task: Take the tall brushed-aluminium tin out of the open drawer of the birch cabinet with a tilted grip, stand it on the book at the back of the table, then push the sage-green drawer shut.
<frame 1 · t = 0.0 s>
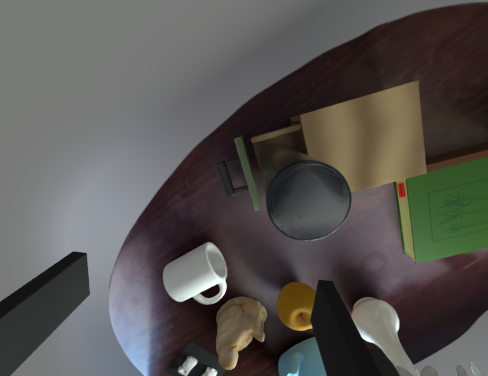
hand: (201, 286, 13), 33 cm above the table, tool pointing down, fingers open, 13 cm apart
apple: (294, 288, 51), on the table
teapot: (303, 350, 55), on the table
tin: (277, 161, 42), point 2 cm above the table, touching drawer
statue: (240, 316, 53), on the table
drawer: (277, 163, 39), point 4 cm above the table, slide at 9.1 cm, touching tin
mug: (205, 266, 50), on the table
flower vase: (368, 304, 51), on the table
cabinet: (342, 141, 42), on the table
book: (459, 196, 44), on the table
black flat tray: (198, 367, 58), on the table
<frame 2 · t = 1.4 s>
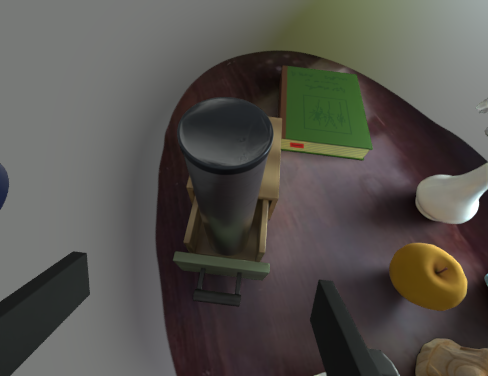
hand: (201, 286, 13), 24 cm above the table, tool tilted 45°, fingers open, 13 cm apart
apple: (401, 280, 37), on the table
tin: (227, 235, 37), point 2 cm above the table, touching drawer
drawer: (227, 232, 35), point 4 cm above the table, slide at 9.1 cm, touching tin
flower vase: (426, 204, 45), on the table
cabinet: (237, 176, 45), on the table
book: (316, 116, 55), on the table
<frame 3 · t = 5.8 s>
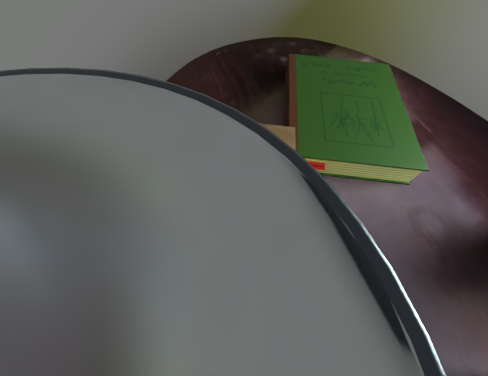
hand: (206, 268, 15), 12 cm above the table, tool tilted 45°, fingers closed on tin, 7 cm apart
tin: (210, 328, 22), point 2 cm above the table, touching drawer, gripper
cabinet: (228, 215, 30), on the table
book: (337, 122, 40), on the table
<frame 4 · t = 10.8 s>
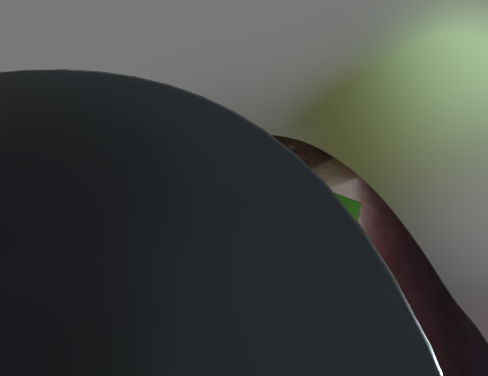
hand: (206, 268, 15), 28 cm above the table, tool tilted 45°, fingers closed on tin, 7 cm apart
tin: (209, 328, 22), point 17 cm above the table, touching gripper
when the fingers open (14 cm above the table, at t = 16.1 s): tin stays where it is, resting on book.
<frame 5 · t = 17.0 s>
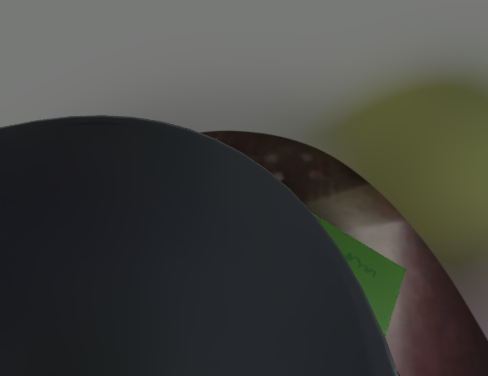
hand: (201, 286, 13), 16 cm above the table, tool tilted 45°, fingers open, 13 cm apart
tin: (211, 329, 22), point 4 cm above the table, touching book
book: (274, 319, 27), on the table, touching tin
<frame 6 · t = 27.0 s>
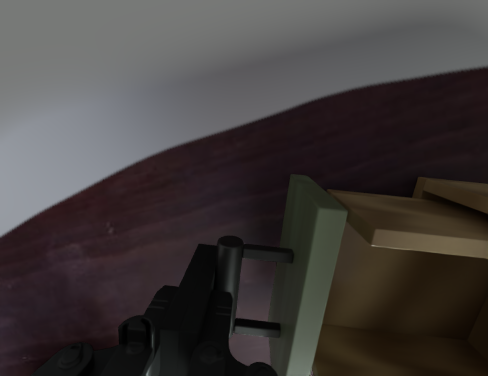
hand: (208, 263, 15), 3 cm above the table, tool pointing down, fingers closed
drawer: (378, 295, 14), point 4 cm above the table, slide at 7.9 cm, touching gripper
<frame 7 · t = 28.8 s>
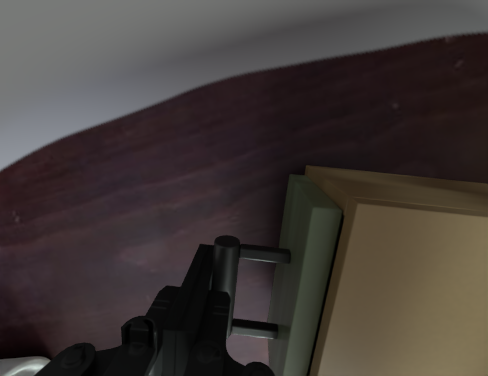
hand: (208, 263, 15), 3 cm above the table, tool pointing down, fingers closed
drawer: (378, 297, 14), point 4 cm above the table, slide at 0.0 cm, touching cabinet, gripper
cabinet: (399, 263, 18), on the table
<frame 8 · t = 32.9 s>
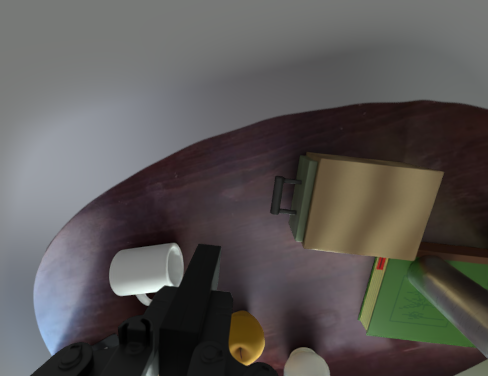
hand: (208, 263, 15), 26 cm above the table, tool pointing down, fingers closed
apple: (241, 316, 48), on the table
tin: (427, 272, 40), point 4 cm above the table, touching book
drawer: (333, 200, 37), point 4 cm above the table, slide at 0.0 cm, touching cabinet
mug: (161, 265, 46), on the table
flower vase: (305, 355, 50), on the table
cabinet: (346, 195, 41), on the table
book: (427, 286, 45), on the table, touching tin
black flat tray: (112, 361, 53), on the table
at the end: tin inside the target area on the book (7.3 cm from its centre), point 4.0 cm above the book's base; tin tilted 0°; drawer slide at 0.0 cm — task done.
